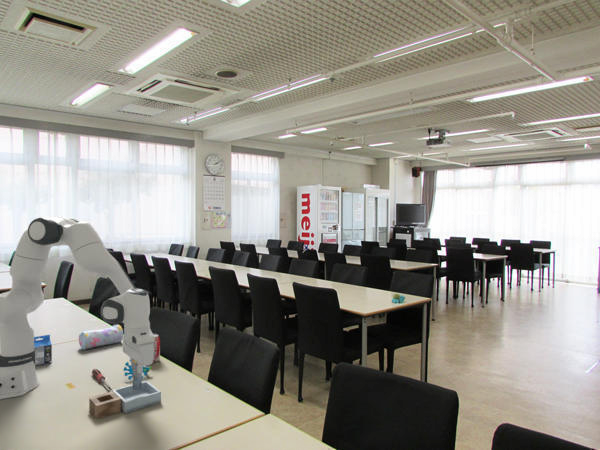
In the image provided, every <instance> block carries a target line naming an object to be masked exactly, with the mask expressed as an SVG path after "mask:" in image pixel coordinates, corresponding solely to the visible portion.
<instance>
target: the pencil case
mask: <svg viewBox="0 0 600 450" xmlns="http://www.w3.org/2000/svg"><path fill="white" fill-rule="evenodd" d="M123 337H124V328H122V325H120V324H119V323H117V324H113V325H112V326H110V327H106V328H102V329H92V330H90V329H89V330H88V329H87V330H86V329H85V330H82V331H81V332H79V335H78V344H79V346H80V348H81V349H82V351H83V350H88V349H94V348H98V347H103V346H108V345H113V344H116V343H117V344H118V343H121V342H123Z"/></svg>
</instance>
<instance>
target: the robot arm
mask: <svg viewBox="0 0 600 450" xmlns="http://www.w3.org/2000/svg"><path fill="white" fill-rule="evenodd" d="M60 246H68V247H69V249H70V252H71V253H72V256H73V258H74V260H75V262H76V263H77V265H78V267H80V268H81V269H82V270H84V271H86V272H89V273H92V274H99V275H101V276H104V277H106V278H108V279H110V280H111V282H112V283H113V285H114V287H115V288H116V289H117V291H118V293H119V295H117V296H113V297H111V298H107V299H106V300H104V301H103V303H102V304H101V307H100V316H101V317H102V320H104V322H105V323H107V324H111V325H117V324H119V323H123V325H124V326H123V339H122V352H123V353H124V354H125V355H126V356H128V357H129V361H130V360H131V362H130V365H131V364H132V369H133V359H134V360H135V361H136V362H137V364H138V365H137V368H136V372H137V373H142V371H143V366H144V367H147V366H151V365H152V364H153V363H154V362H153V357H154V345H153V342H154V341H155V336H154V335H153V334H154V333H153V331H152V329H151V322H150V314H151V304H150V296H149V294H148V292H147V291H146V290H145V289H143V288H137V287H136V285H135V284H134V282H133V280H132V279H131V278H130V277H129V274H128V272H127V271H125V268H124V267H123V265H122V264H121V263H120V261H119V260H117V259H116V258H115V257H114V256H113V255H112V254H111V253H110V252H109V251H108V249H107V248H106V246H105V245H104V243H103V241H102V238H101V237H100V235H99V233H98V232H97V231H96V229H95V228H94V226H93V225H92V224H90V223H89V222H87V221H79V220H77V219H74V218H67V217H63V216H62V217H60V216H57V217H50V216H49V217H48V216H43V217H42V216H41V217H37V218H35V219H33V220H32V221H31V222H30V223H29V225H28V228H27V229H26V230H25V231H24V232H23V233H22V235H21V236H20V239H19V241H18V243H17V245H16V248H15V252H14V255H13V258H12V262H11V265H10V267H9V275H10V276H11V279H12V283H11V284H12V285H11V289H10V290H9V291H5V292H1V293H0V400H5V399H9V398H15V397H21V396H24V395H25V394H27V393H28V392H30V391H32V390H33V389H36V388H37V387H38V386H39V385H40V382H39V379H38V375H37V371H36V366H35V361H36V352H35V349H34V337H35V330H34V328H32V327H31V325H30V324H29V321H28V314H31V313H33V312H35V311H37V309H39V307H41V306H42V304H43V303H44V300H45V295H44V292H43V290H42V289H43V287H42V284H43V276H44V272H45V268H46V265H47V262H48V258H49V254H50V251H51V249H52V248H53V247H60ZM152 362H153V363H152ZM146 365H147V366H146ZM142 374H143V373H142Z"/></svg>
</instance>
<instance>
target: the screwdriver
mask: <svg viewBox="0 0 600 450" xmlns="http://www.w3.org/2000/svg"><path fill="white" fill-rule="evenodd" d="M91 374H92V377H93V378H94V379H96V380H97V381H98V382H99V383H103V384H104V386H106V388H107V389H108V390H110V392H112V390H113V389H112V388H111V387H110V385H109V384H108V383H107V382H106V381H105V379H106V377H105V376H104V375H103V374H102V372H101V371H100V370H99V369H97V368H93V369H92V370H91Z"/></svg>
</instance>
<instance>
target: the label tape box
mask: <svg viewBox="0 0 600 450" xmlns="http://www.w3.org/2000/svg"><path fill="white" fill-rule="evenodd" d="M52 346H53V345H52V341H51V334H45V335H44V334H43V335H39V336H34V349H35V352H36V361H35V367H36V366H39V365H45V364H49V363H52V362H53V358H52V357H53V355H52V354H53V351H52V349H53V347H52Z"/></svg>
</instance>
